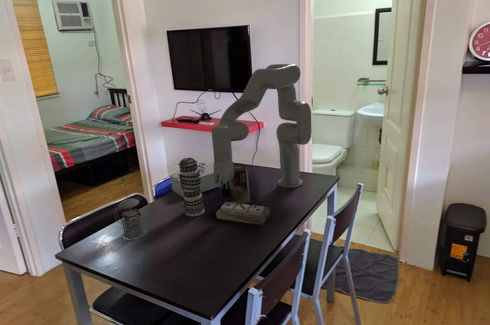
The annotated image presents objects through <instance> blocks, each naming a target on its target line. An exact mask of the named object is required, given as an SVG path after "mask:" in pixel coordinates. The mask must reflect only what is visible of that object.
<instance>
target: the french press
mask: <svg viewBox="0 0 490 325" xmlns="http://www.w3.org/2000/svg"><path fill="white" fill-rule="evenodd" d="M126 180H127V178H126V177H125V176H122V177H121V178H120V181H121V182H123V184H124V189H125V194H126V199H123V200H122V201H121V202H119V203H118V204H117V208H115V210H114V212H113V213H114V218H115V220H116V222H117V223H119V224H121V225H122V229H123V232H124V233H123V235H122V237H123V236H124V237H125V238H128V239H134V238H138V237H141V236H143V235H144V234H145V233H146V232H147V233H148V230H147V229H145V227H144V222H143V217H142V213H141V212H140V209H139V208H135V207H137V206H138V205H139V203H140V200H138V199H136V198H128V194H127V192H128V191H127V188H126V183H125V181H126ZM118 210H119V211H122V210H124V211H122V212H121V214H120V215H121V218H120V216H119V214H118V213H116V212H117V211H118ZM116 216H117V217H116ZM117 218H118V219H119V220H118V219H117ZM146 230H147V231H146ZM147 233H146V234H147ZM143 237H144V236H143Z"/></svg>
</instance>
